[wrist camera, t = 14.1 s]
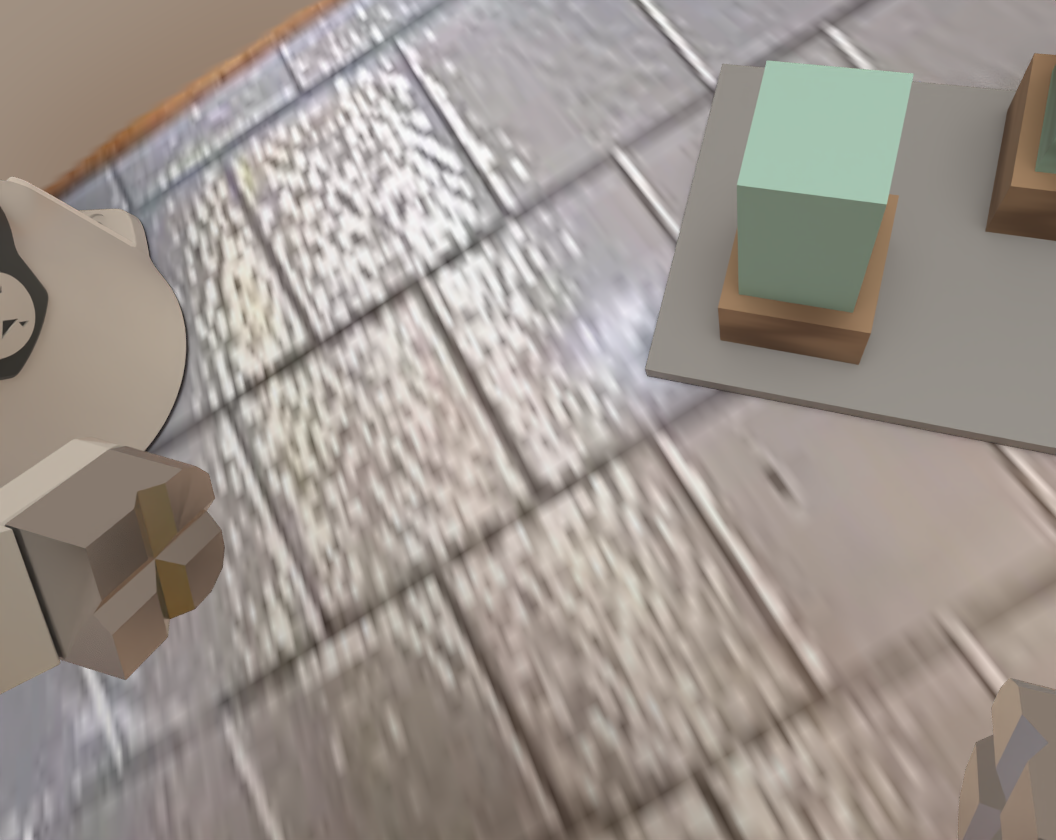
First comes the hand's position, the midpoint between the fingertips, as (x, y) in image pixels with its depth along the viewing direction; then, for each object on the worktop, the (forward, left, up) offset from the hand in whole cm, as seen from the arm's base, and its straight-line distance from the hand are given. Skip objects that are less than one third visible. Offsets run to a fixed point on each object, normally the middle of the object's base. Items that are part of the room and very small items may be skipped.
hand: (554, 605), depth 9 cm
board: (+5, +19, -31) cm, 37 cm away
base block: (+1, +16, -30) cm, 34 cm away
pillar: (+1, +16, -26) cm, 31 cm away
